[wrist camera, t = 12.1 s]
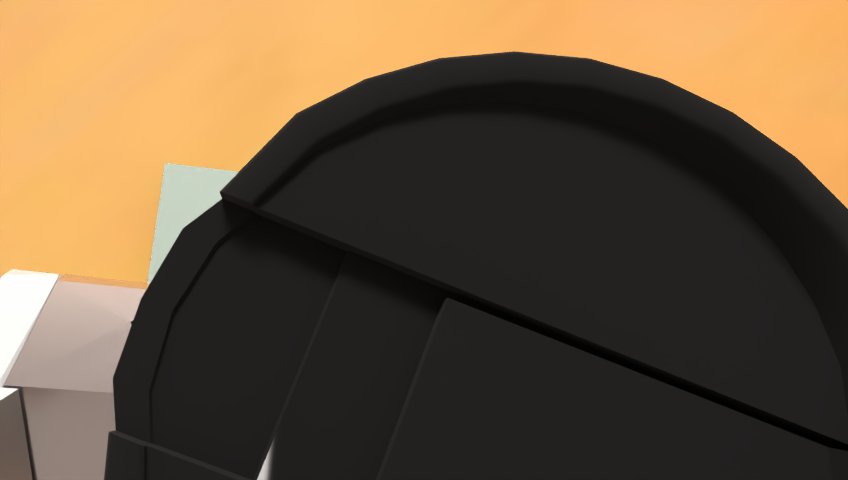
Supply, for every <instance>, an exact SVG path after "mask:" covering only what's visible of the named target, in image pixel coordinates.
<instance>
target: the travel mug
mask: <svg viewBox="0 0 848 480" xmlns="http://www.w3.org/2000/svg"><path fill="white" fill-rule="evenodd" d="M220 195H221V197H222V199H221V200H220V201H218V202H217V203H216V204H214V205H213V206H212V207H210V208H209V209H208V210H206V211H205V212H204V213H202V214H201V215H200V216H198V217H197V218H196V219H195V220H193V221H192V222H191V223H189V224H188V225H187V226H185V227H184V228H183V229H182V231H181V232H180V234H179V236H178V237H177V239H176V241H175V242H174V244H173V246H172V247H171V249H170V251H169V252H168V254H167V256H166V258H165V259H164V261H163V263H162V264H161V266H160V268H159V269H158V271H157V273H156V274H155V276H154V278H153V279H152V281H151V283H150V284H149V286H148V288H147V289H146V291H145V293H144V295H143V296H142V298H141V300H140V303H139V306H138V309H137V311H136V314H135V317H134V320H133V323H132V325H131V328H130V331H129V334H128V337H127V339H126V342H125V345H124V348H123V351H122V353H121V356H120V359H119V362H118V365H117V367H116V370H115V373H114V376H113V394H114V411H115V428H116V430H115V431H109V433H108V444H107V454H106V464H105V474H104V480H848V209H847V208H846V207H845V206H844V205H843V204H842V203H841V202H840V201H839V200H838V199H837V198H836V197H835V196H834V195H833V194H832V193H831V192H830V191H829V190H828V189H827V188H826V187H825V186H824V185H823V184H822V183H821V182H820V181H819V180H818V179H817V178H816V177H815V176H814V175H813V174H812V173H811V172H810V171H809V170H808V169H807V168H806V167H805V166H804V165H803V164H802V163H801V162H800V161H799V160H798V159H797V158H796V157H795V156H793V155H792V154H790V153H789V152H788V151H786V150H785V149H783V148H782V147H781V146H779V145H778V144H776V143H775V142H774V141H772V140H771V139H769V138H768V137H767V136H765V135H764V134H762V133H761V132H760V131H758V130H757V129H755V128H754V127H752V126H751V125H750V124H748V123H747V122H745V121H744V120H743V119H741V118H740V117H738V116H737V115H736V114H734V113H733V112H731V111H729V110H727V109H724V108H722V107H720V106H718V105H716V104H714V103H712V102H710V101H708V100H706V99H703V98H701V97H699V96H697V95H695V94H693V93H691V92H689V91H687V90H685V89H682V88H680V87H678V86H676V85H674V84H672V83H670V82H668V81H666V80H664V79H661V78H657V77H654V76H650V75H646V74H643V73H639V72H636V71H632V70H628V69H625V68H621V67H618V66H614V65H610V64H607V63H603V62H600V61H596V60H592V59H588V58H578V57H567V56H556V55H545V54H534V53H524V52H504V53H493V54H482V55H471V56H460V57H449V58H439V59H435V60H431V61H428V62H424V63H421V64H417V65H414V66H410V67H407V68H403V69H400V70H396V71H392V72H389V73H385V74H382V75H378V76H375V77H371V78H368V79H365V80H363V81H361V82H359V83H357V84H355V85H353V86H351V87H349V88H347V89H345V90H343V91H341V92H339V93H337V94H335V95H333V96H331V97H329V98H327V99H325V100H323V101H321V102H319V103H317V104H315V105H313V106H311V107H309V108H307V109H305V110H303V111H301V112H299V113H297V114H295V115H294V117H293V118H292V119H291V120H290V121H289V122H288V123H287V124H286V125H285V126H284V127H283V128H282V129H281V130H280V131H279V132H278V133H277V134H276V135H275V136H274V137H273V138H272V139H271V140H270V141H269V142H268V143H267V144H266V145H265V146H264V147H263V148H262V149H261V150H260V151H259V152H258V153H257V154H256V155H255V156H254V157H253V158H252V159H251V160H250V161H249V162H248V163H247V164H246V165H245V166H244V167H243V168H242V169H241V170H240V171H239V172H238V173H237V174H236V176H235V177H234V178H233V179H232V180H231V181H230V182H229V183H228V184H227V185H226V186H225V187H224V188H223V189H222V190H221V191H220Z"/></svg>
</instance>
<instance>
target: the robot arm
mask: <svg viewBox="0 0 848 480" xmlns="http://www.w3.org/2000/svg"><path fill="white" fill-rule="evenodd" d="M148 286H149V284H146V283H137V282H128V281H120V280H111V279H102V278H93V277H84V276H75V275H67V274H65V275H64V276H63V275H60V274H52V273H43V272H33V271H24V270H14V269H12V270H11V271H9V272H7V273H6V274H4V275H3V276H1V277H0V480H104V474H105V464H106V454H107V444H108V433H109V431H115V430H116V428H115V411H114V394H113V376H114V373H115V370H116V367H117V365H118V362H119V359H120V356H121V353H122V351H123V348H124V345H125V342H126V339H127V337H128V334H129V331H130V328H131V325H132V323H133V320H134V317H135V314H136V311H137V309H138V306H139V303H140V300H141V298H142V296H143V295H144V293H145V291H146V289H147V288H148Z"/></svg>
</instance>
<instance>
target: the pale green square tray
mask: <svg viewBox="0 0 848 480" xmlns="http://www.w3.org/2000/svg"><path fill="white" fill-rule="evenodd" d="M237 173H238V172H235V171H227V170H219V169H210V168H202V167H194V166H186V165H178V164H169V163H165V168H164V175H163V181H162V188H161V195H160V202H159V208H158V215H157V222H156V228H155V235H154V242H153V248H152V255H151V262H150V269H149V275H148V282H147V284H150V283H151V281H152V279H153V278H154V276H155V274H156V273H157V271H158V269H159V268H160V266H161V264H162V263H163V261H164V259H165V258H166V256H167V254H168V252H169V251H170V249H171V247H172V246H173V244H174V242H175V241H176V239H177V237H178V236H179V234H180V232H181V231H182V229H183V228H184V227H185V226H187V225H188V224H189V223H191V222H192V221H193V220H195V219H196V218H197V217H198V216H200V215H201V214H202V213H204V212H205V211H206V210H208V209H209V208H210V207H212V206H213V205H214V204H216V203H217V202H218V201H220V200H221V199H222V197H221V195H220V191H221V190H222V189H223V188H224V187H225V186H226V185H227V184H228V183H229V182H230V181H231V180H232V179H233V178H234V177H235V176H236V174H237Z"/></svg>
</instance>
